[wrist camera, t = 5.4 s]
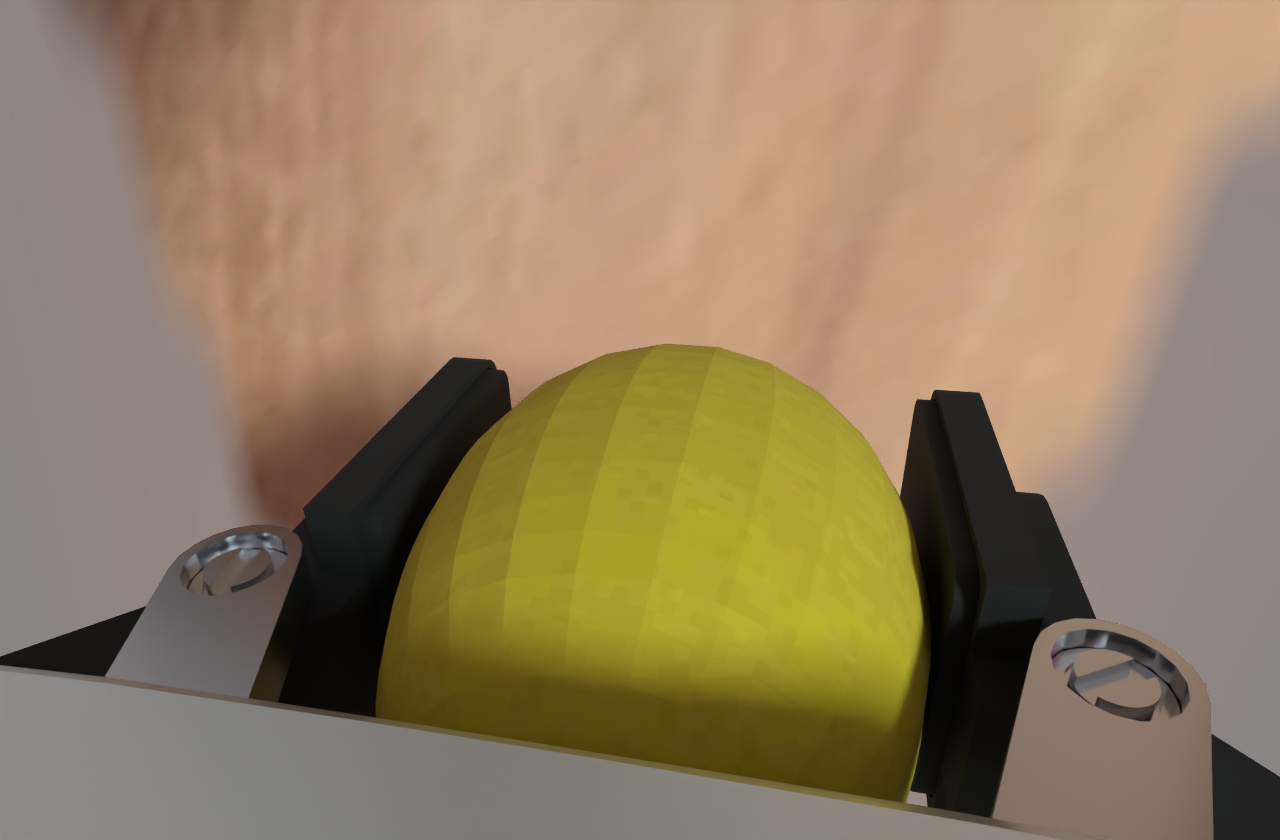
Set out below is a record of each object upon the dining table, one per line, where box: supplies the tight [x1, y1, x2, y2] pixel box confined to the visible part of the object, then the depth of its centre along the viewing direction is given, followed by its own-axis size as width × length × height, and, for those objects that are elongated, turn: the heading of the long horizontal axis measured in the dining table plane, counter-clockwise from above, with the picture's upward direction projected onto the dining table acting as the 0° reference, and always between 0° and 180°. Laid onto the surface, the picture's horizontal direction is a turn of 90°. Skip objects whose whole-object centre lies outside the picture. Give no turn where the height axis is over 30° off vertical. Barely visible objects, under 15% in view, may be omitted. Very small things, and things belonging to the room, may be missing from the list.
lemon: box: [375, 344, 931, 803], centre depth 9 cm, size 6×6×8 cm
